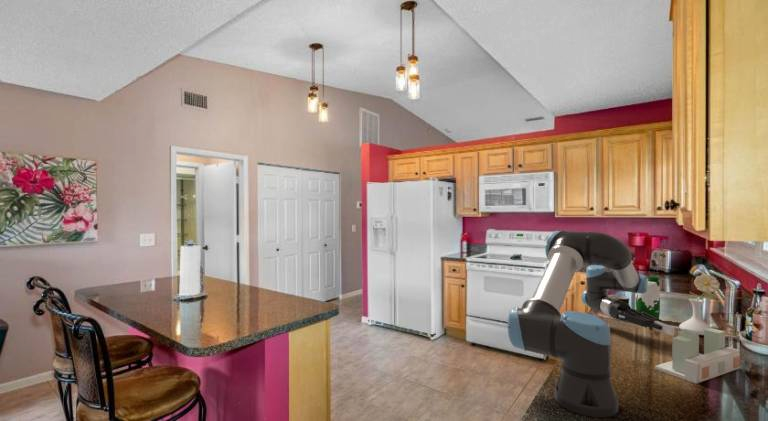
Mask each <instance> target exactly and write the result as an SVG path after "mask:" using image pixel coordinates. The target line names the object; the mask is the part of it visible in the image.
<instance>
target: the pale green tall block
mask: <svg viewBox="0 0 768 421" xmlns="http://www.w3.org/2000/svg"><path fill="white" fill-rule="evenodd" d="M671 339H672V342H671V343H672V344H671V345H672V348H671V349H672V350H671V351H672V352H671V353H672V354H671V355H672V357H671V358H672V360H671V361H672V369H674V370H676V371H679V372H682V373H685V360H686V359H690V358H693V357H694V340H693V339H690V338H686V337H682V336H678V335H677V336H675V337H672V338H671Z"/></svg>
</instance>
